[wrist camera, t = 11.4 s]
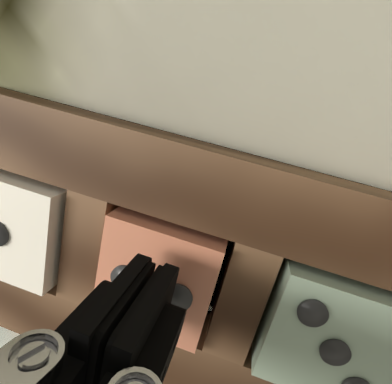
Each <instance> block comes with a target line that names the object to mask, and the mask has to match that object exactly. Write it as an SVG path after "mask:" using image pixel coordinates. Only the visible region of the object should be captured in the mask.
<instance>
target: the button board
mask: <svg viewBox="0 0 392 384" xmlns="http://www.w3.org/2000/svg"><path fill="white" fill-rule="evenodd" d="M0 169H3V170H6V171H9V172H12V173H15V174H19V175H22V176H25V177H28V178H31V179H34V180H38V181H41V182H44V183H47V184H50V185H54V186H57V187H60V188H63V189H66V190H67V195H66V204H65V214H64V223H63V233H62V243H61V252H60V262H59V271H58V281H57V285H55V286H54V287H53V288H52V289H51V290H49V291H48V292H47V293H46V294H45V295H43V296H40V295H37V294H34V293H32V292H29V291H26V290H24V289H21V288H18V287H16V286H13V285H10V284H8V283H5V282H3V281H0V326H1V327H4V328H6V329H9V330H11V331H14V332H16V333H19V334H22V333H24V332H27V331H30V330H35V329H50V330H53V331H54V330H55V329H56V328H57V327H58V326H59V325H60V324H61V323H62V322H63V321H64V320H65V319H66V318H67V317H68V316H69V315H70V314H71V313H72V312H73V311H74V310H75V309H76V308H77V307H78V305H79V304H80V303H81V302H82V301H83V300H84V299H85V298H86V297H87V296H88V295H89V294H90V293H91V292H92V291H93V290H94V287H95V280H96V274H97V267H98V261H99V254H100V247H101V241H102V234H103V228H104V221H105V215H107V214H108V213H110V212H111V211H113V210H115V209H116V208H118V207H119V206H121V207H124V208H127V209H130V210H133V211H137V212H140V213H143V214H146V215H149V216H152V217H156V218H159V219H162V220H165V221H168V222H172V223H175V224H178V225H181V226H184V227H188V228H191V229H194V230H197V231H200V232H204V233H207V234H210V235H213V236H216V237H219V238H223V239H226V240H229V241H232V242H233V244H232V247H231V250H230V253H229V257H228V260H227V263H226V266H225V270H224V273H223V276H222V279H221V282H220V286H219V289H218V292H217V295H216V299H215V302H214V305H213V308H212V312H211V314H209V313H207V315H206V318H205V321H204V325H203V328H202V331H201V334H200V338H199V341H198V344H197V348H196V351H195V354H194V353H191V352H189V351H186V350H183V349H181V348H178V347H176V348H175V351H174V354H173V356H172V359H171V362H170V365H169V367H168V370H167V373H166V375H165V378H164V381H163V384H274V383H271V382H269V381H266V380H263V379H261V378H258V377H255V376H253V375H251V364H252V341H253V338H254V336H255V333H256V330H257V328H258V325H259V322H260V320H261V317H262V314H263V312H264V309H265V306H266V304H267V301H268V298H269V296H270V293H271V290H272V288H273V285H274V283H275V280H276V277H277V275H278V272H279V269H280V267H281V264H282V261H283V259H284V258H286V259H290V260H293V261H296V262H299V263H302V264H306V265H309V266H312V267H315V268H318V269H321V270H325V271H328V272H331V273H334V274H337V275H341V276H344V277H347V278H350V279H353V280H357V281H360V282H363V283H366V284H369V285H373V286H376V287H379V288H382V289H385V290H388V291H392V192H390V191H387V190H383V189H379V188H375V187H372V186H368V185H364V184H360V183H357V182H353V181H349V180H346V179H342V178H338V177H334V176H331V175H327V174H323V173H319V172H316V171H312V170H308V169H304V168H301V167H297V166H293V165H289V164H286V163H282V162H278V161H274V160H271V159H267V158H263V157H260V156H256V155H252V154H248V153H245V152H241V151H237V150H233V149H230V148H226V147H222V146H218V145H215V144H211V143H207V142H203V141H200V140H196V139H192V138H188V137H185V136H181V135H177V134H173V133H170V132H166V131H162V130H159V129H155V128H151V127H147V126H144V125H140V124H136V123H132V122H129V121H125V120H121V119H117V118H114V117H110V116H106V115H102V114H99V113H95V112H91V111H87V110H84V109H80V108H76V107H73V106H69V105H65V104H61V103H58V102H54V101H50V100H46V99H43V98H39V97H35V96H31V95H28V94H24V93H20V92H16V91H13V90H9V89H5V88H1V87H0Z"/></svg>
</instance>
